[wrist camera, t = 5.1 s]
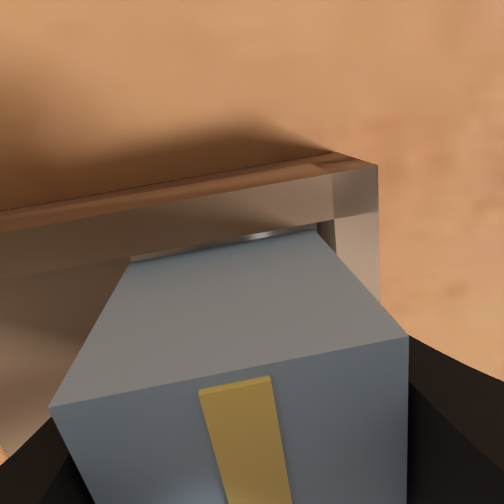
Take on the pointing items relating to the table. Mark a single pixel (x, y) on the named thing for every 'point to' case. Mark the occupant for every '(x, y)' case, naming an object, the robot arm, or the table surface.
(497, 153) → the table surface
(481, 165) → the table surface
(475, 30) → the table surface
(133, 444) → the cube
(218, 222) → the tray
